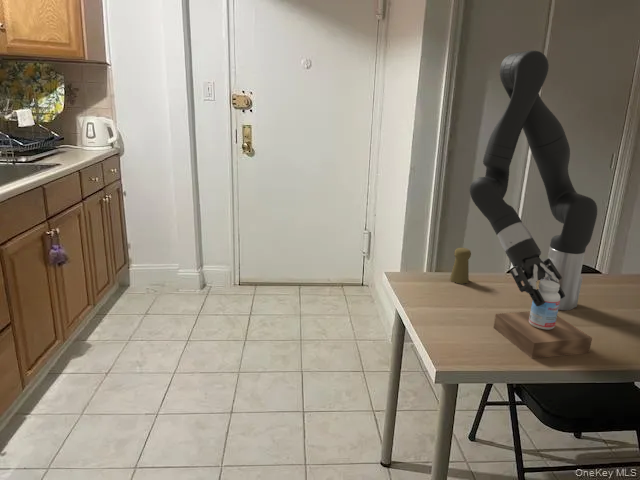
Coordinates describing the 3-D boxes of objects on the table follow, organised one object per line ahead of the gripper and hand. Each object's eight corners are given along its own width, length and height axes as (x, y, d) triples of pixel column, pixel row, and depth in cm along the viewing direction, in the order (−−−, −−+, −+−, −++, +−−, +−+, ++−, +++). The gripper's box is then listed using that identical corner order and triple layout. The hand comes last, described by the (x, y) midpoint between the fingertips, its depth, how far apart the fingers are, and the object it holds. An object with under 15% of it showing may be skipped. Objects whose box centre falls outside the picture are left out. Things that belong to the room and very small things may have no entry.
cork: (469, 284, 163) (473, 252, 160) (449, 282, 164) (454, 250, 161) (467, 278, 169) (472, 246, 166) (449, 276, 170) (453, 245, 167)
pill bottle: (549, 333, 124) (558, 290, 120) (524, 324, 127) (532, 282, 124) (558, 325, 128) (566, 283, 124) (533, 317, 132) (541, 276, 128)
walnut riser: (545, 323, 138) (548, 309, 137) (589, 352, 123) (592, 337, 122) (493, 327, 134) (495, 313, 133) (531, 358, 119) (534, 343, 118)
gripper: (511, 240, 123) (546, 301, 118) (546, 233, 131) (580, 290, 126) (490, 255, 129) (522, 313, 123) (524, 247, 137) (556, 302, 131)
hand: (551, 301), depth 124 cm, fingers open, 8 cm apart
